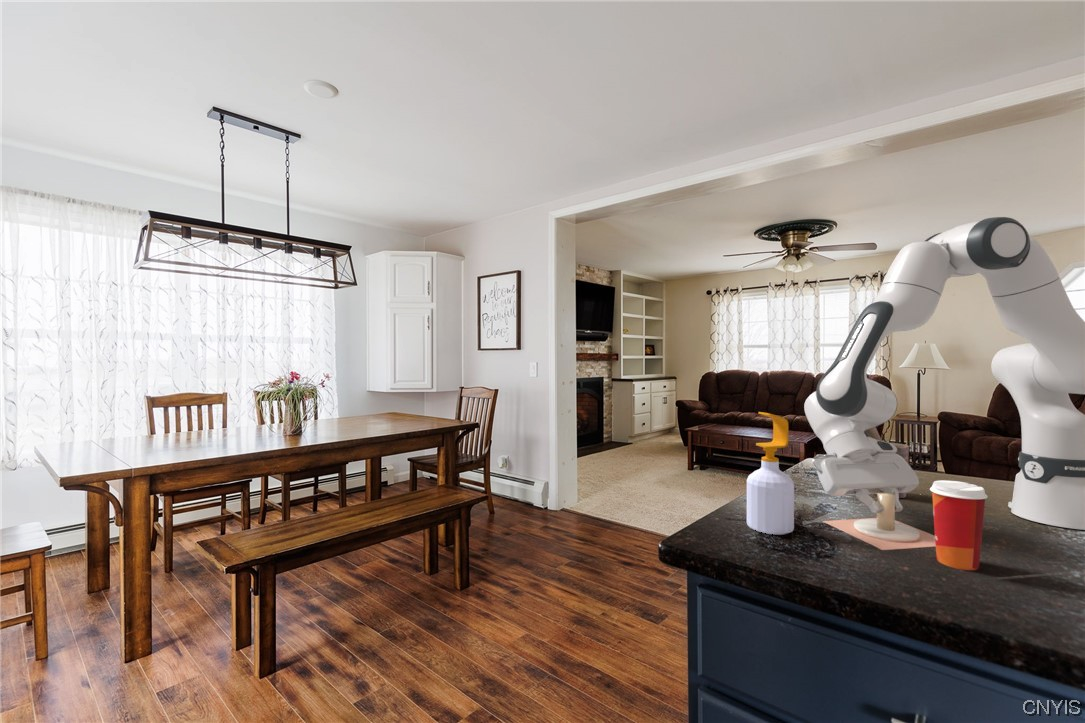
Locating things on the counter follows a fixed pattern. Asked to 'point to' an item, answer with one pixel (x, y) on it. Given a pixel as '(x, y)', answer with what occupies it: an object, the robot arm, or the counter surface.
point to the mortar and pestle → (901, 448)
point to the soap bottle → (771, 487)
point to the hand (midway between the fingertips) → (888, 511)
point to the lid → (886, 523)
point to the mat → (848, 527)
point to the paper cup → (958, 523)
